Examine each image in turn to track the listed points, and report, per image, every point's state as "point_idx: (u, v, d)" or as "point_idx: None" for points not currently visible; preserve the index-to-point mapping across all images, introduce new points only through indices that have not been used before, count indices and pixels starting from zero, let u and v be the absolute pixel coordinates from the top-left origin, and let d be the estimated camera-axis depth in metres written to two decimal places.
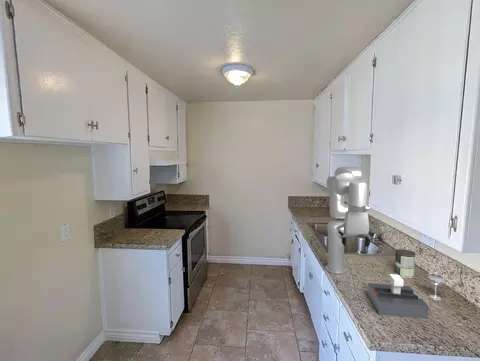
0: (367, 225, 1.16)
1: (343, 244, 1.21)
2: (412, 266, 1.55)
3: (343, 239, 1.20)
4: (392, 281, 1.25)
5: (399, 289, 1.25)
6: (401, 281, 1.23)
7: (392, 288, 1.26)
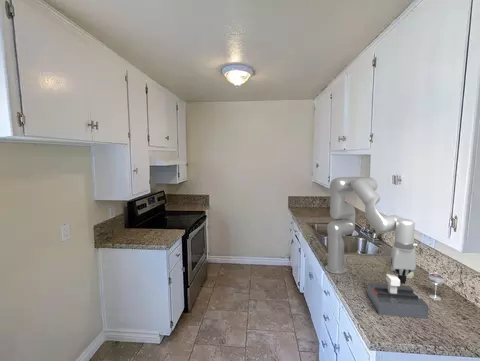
0: (414, 261, 1.22)
1: None
2: None
3: (400, 277, 1.25)
4: (389, 281, 1.25)
5: (396, 289, 1.25)
6: (398, 281, 1.23)
7: (389, 288, 1.27)
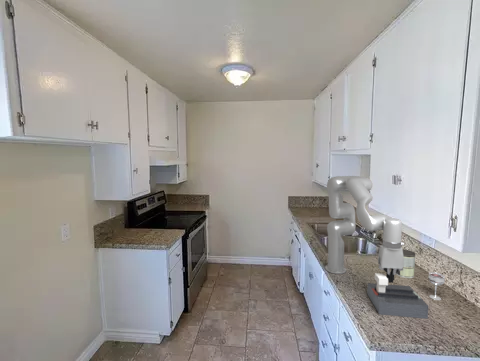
0: (402, 260, 1.23)
1: None
2: (412, 266, 1.55)
3: (388, 276, 1.26)
4: (377, 280, 1.26)
5: (384, 288, 1.26)
6: (386, 280, 1.24)
7: (377, 287, 1.28)
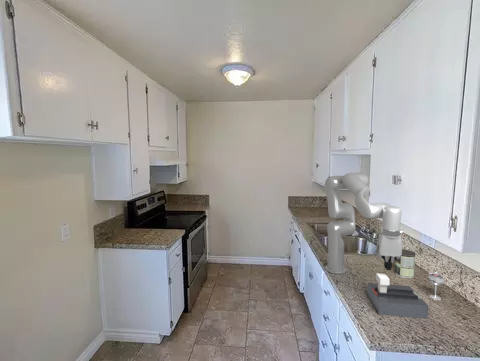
0: (400, 248, 1.22)
1: None
2: (412, 266, 1.55)
3: (386, 263, 1.26)
4: (378, 280, 1.26)
5: (385, 288, 1.26)
6: (387, 280, 1.24)
7: (378, 287, 1.27)
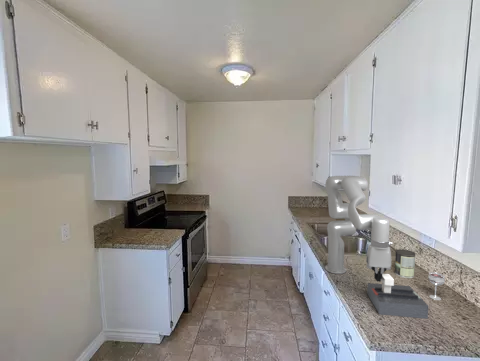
0: (390, 259, 1.23)
1: None
2: (412, 266, 1.55)
3: (376, 275, 1.26)
4: (383, 280, 1.26)
5: (390, 288, 1.25)
6: (391, 280, 1.23)
7: (383, 287, 1.27)
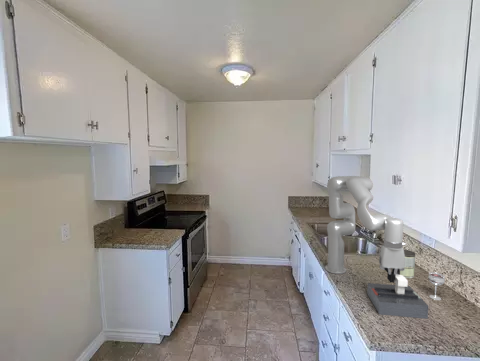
0: (403, 260, 1.22)
1: None
2: (412, 266, 1.55)
3: (389, 276, 1.25)
4: (396, 281, 1.25)
5: (403, 289, 1.24)
6: (405, 281, 1.22)
7: (396, 288, 1.26)
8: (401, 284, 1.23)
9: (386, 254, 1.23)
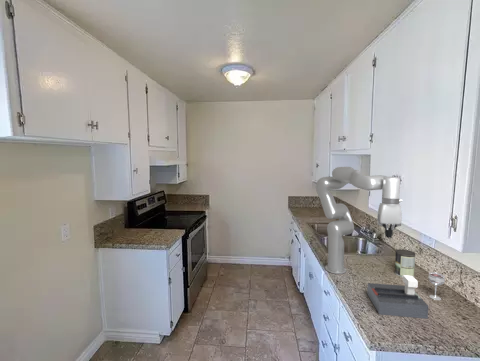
0: (400, 216, 1.29)
1: (386, 236, 1.34)
2: (412, 266, 1.55)
3: (387, 231, 1.32)
4: (406, 282, 1.24)
5: (413, 290, 1.23)
6: (415, 282, 1.22)
7: (406, 289, 1.25)
8: (411, 285, 1.22)
9: (384, 210, 1.30)
